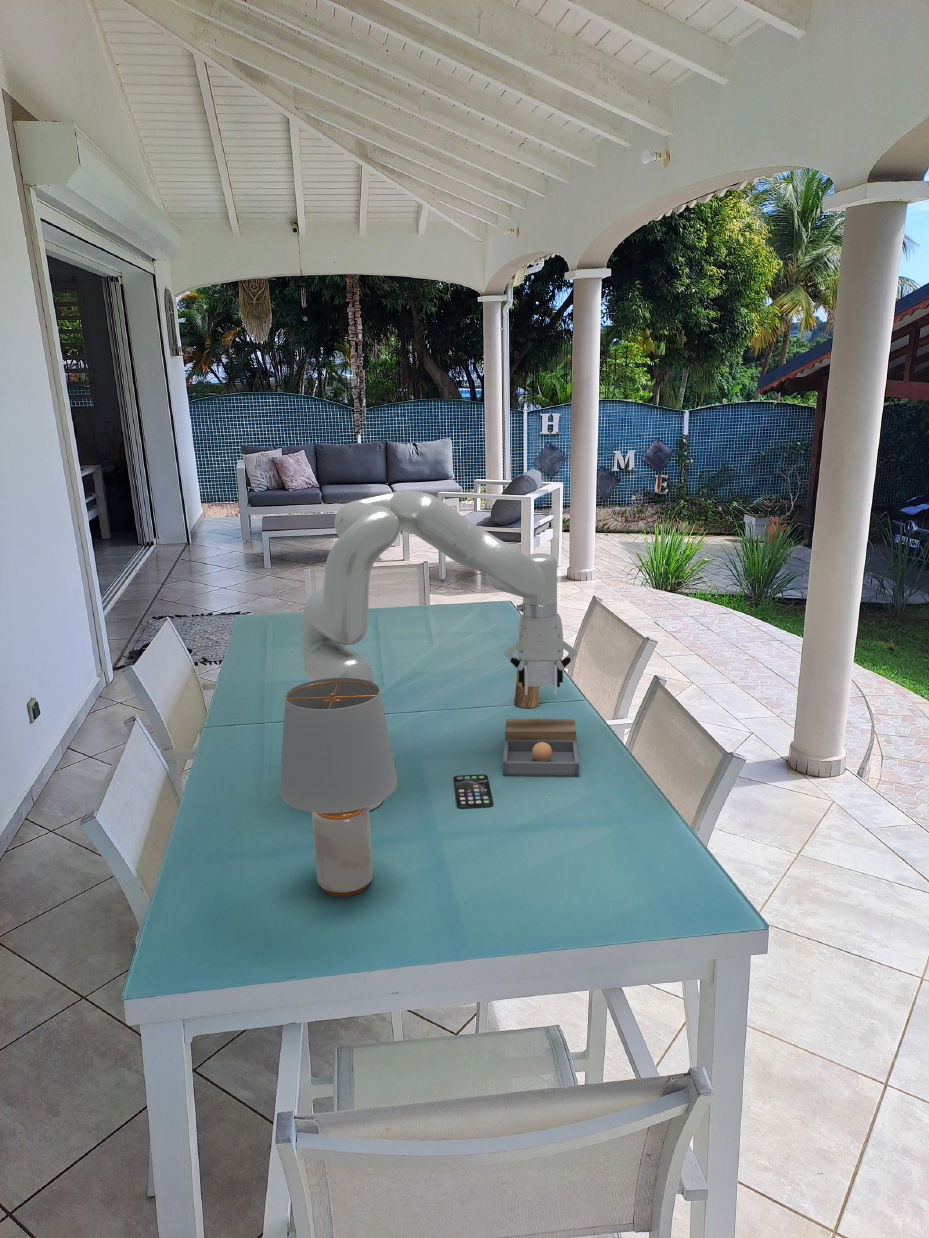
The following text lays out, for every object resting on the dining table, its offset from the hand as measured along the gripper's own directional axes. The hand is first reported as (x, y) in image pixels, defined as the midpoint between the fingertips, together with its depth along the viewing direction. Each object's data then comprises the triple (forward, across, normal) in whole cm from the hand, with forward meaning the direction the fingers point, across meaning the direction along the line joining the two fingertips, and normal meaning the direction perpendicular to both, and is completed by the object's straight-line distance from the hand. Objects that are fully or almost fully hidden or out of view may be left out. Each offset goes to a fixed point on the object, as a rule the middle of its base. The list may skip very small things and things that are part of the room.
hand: (540, 684), depth 196 cm
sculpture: (+15, -2, +27) cm, 31 cm away
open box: (+1, 0, 0) cm, 1 cm away
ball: (+12, 0, -10) cm, 16 cm away
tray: (+15, 0, -10) cm, 18 cm away
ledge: (+15, 0, 0) cm, 15 cm away
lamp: (+14, -33, -59) cm, 69 cm away
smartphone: (+15, -14, -24) cm, 32 cm away
